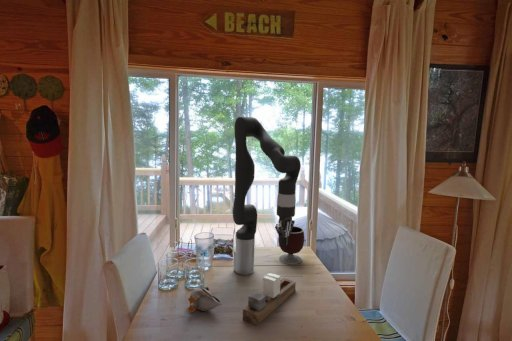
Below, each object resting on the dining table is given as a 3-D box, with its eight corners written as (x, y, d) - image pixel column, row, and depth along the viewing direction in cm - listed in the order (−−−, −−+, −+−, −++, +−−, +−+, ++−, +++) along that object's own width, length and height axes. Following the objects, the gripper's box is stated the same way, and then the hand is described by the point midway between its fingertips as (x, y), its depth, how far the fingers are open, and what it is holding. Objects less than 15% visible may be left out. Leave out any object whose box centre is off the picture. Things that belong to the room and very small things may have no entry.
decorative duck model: (199, 278, 123) (232, 282, 119) (199, 296, 123) (232, 301, 119) (179, 292, 109) (216, 298, 105) (179, 312, 109) (216, 319, 105)
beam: (242, 319, 106) (243, 298, 106) (283, 286, 131) (283, 269, 130) (256, 325, 103) (257, 304, 102) (295, 290, 128) (296, 273, 127)
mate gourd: (300, 254, 168) (301, 220, 166) (305, 265, 154) (307, 228, 152) (273, 254, 167) (274, 220, 165) (276, 265, 153) (277, 227, 151)
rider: (262, 299, 116) (262, 276, 115) (268, 293, 120) (269, 272, 119) (273, 303, 113) (274, 280, 112) (279, 298, 117) (280, 275, 116)
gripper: (285, 200, 128) (284, 238, 130) (269, 205, 117) (268, 247, 119) (301, 202, 124) (299, 242, 126) (286, 208, 113) (284, 252, 115)
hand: (284, 244), depth 122 cm, fingers closed
